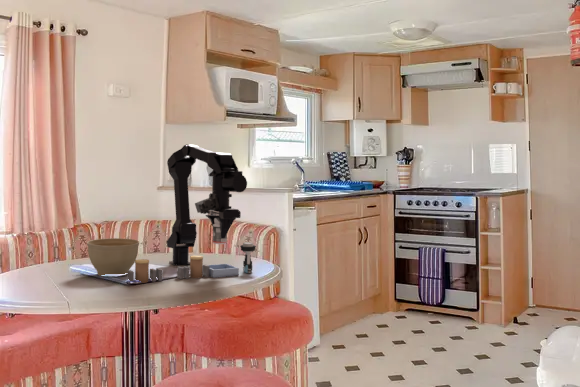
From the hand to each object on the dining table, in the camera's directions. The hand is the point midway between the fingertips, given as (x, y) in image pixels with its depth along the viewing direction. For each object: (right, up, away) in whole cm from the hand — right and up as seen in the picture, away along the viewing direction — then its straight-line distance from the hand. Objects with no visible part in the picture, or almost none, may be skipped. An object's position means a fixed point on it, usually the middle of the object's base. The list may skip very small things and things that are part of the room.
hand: (219, 237), depth 192 cm
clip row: (-15, -13, -10) cm, 22 cm away
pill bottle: (0, -2, 0) cm, 2 cm away
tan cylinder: (-7, -13, -5) cm, 15 cm away
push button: (+9, -13, +5) cm, 16 cm away
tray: (0, -12, +1) cm, 12 cm away
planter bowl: (-34, -12, -5) cm, 36 cm away
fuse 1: (-22, -13, -14) cm, 29 cm away
